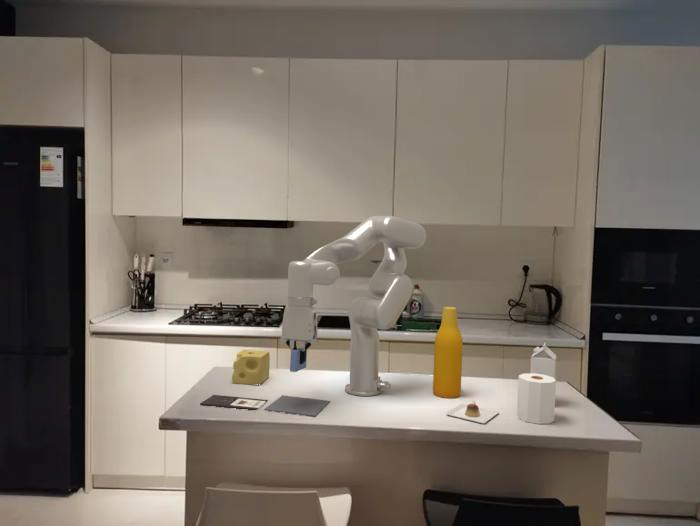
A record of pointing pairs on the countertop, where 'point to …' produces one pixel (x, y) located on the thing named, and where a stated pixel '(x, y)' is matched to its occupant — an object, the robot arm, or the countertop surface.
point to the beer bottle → (448, 356)
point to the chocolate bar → (233, 402)
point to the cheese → (251, 367)
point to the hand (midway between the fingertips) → (298, 362)
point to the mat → (298, 405)
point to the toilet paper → (536, 398)
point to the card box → (296, 361)
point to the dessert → (472, 412)
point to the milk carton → (543, 361)
